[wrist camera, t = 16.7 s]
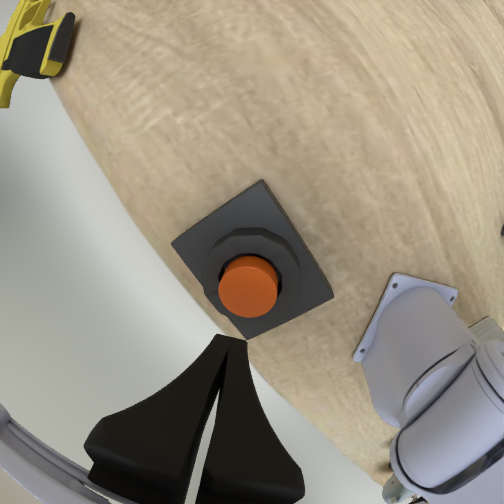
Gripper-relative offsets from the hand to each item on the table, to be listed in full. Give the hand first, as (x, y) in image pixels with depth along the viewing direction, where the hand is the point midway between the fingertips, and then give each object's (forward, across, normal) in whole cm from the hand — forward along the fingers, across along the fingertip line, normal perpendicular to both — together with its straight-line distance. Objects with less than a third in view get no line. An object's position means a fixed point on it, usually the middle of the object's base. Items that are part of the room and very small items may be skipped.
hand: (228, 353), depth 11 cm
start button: (+7, 0, 0) cm, 7 cm away
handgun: (+9, +21, -25) cm, 34 cm away
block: (+10, 0, 0) cm, 10 cm away
